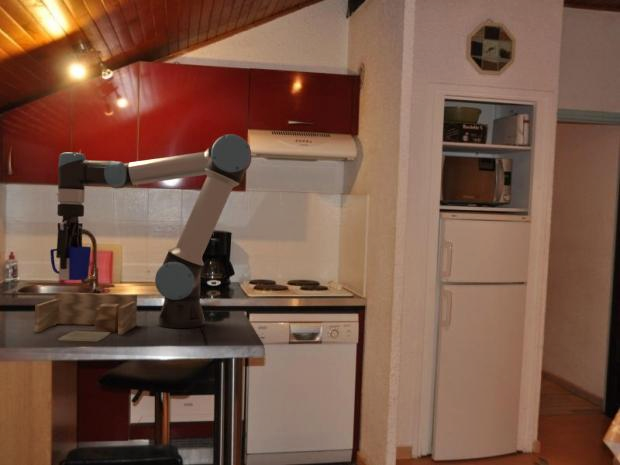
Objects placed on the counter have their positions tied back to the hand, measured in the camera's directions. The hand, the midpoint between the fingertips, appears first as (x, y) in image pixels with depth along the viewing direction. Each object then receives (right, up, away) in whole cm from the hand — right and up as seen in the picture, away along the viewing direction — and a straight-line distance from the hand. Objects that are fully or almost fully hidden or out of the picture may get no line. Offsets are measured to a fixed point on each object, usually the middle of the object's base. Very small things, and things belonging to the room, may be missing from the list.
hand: (69, 278), depth 179 cm
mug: (0, 0, 0) cm, 0 cm away
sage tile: (+8, -16, -9) cm, 21 cm away
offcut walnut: (+11, -17, +3) cm, 20 cm away
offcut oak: (+11, -13, +3) cm, 17 cm away
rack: (+4, -16, +4) cm, 17 cm away
